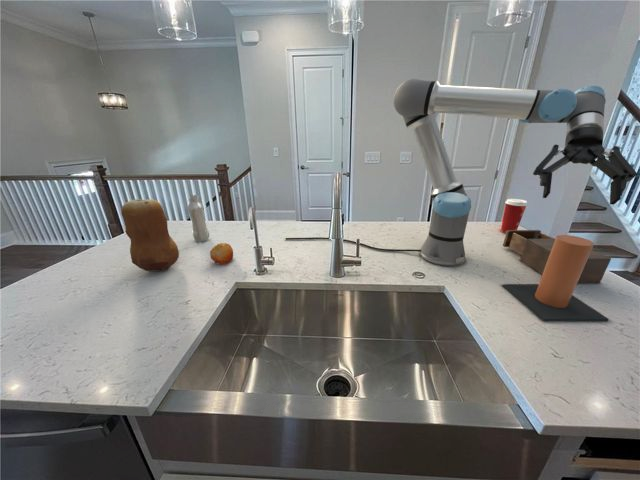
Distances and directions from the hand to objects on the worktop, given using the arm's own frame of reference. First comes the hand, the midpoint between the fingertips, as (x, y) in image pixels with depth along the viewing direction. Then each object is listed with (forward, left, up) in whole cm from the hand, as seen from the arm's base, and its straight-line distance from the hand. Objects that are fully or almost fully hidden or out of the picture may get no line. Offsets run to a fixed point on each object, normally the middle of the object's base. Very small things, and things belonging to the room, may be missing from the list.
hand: (579, 198), depth 68 cm
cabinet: (+12, +10, -27) cm, 32 cm away
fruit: (-104, +18, -28) cm, 109 cm away
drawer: (+12, +24, -27) cm, 38 cm away
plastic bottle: (-121, +39, -28) cm, 130 cm away
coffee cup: (+20, +47, -28) cm, 58 cm away
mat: (-4, -7, -27) cm, 29 cm away
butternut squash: (-125, +13, -28) cm, 129 cm away
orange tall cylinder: (-4, -7, -27) cm, 28 cm away
